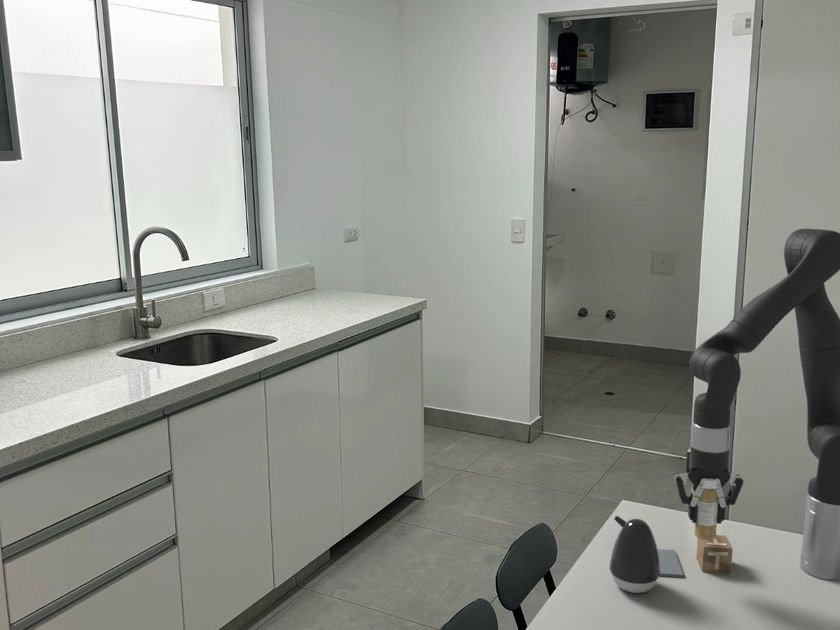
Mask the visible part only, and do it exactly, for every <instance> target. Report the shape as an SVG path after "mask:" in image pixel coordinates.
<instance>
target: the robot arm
mask: <svg viewBox="0 0 840 630" xmlns="http://www.w3.org/2000/svg"><path fill="white" fill-rule="evenodd" d="M783 249H784V250H783V259H784V263H785V264H784V265H785V269H786V272H787V276H785V277H784V278H783V279H781V280H780V281H779V282H777V283H776V284H774V285H773V286H771V287H770V288H768V289H767V290H765V291H764V292H762V293H760V294H758V295H757V296H755V297H754V298H752V299H751V300H750V301H749V302H747V304H746V305H744V306H743V307H742V308H741V309H740V311H739V312H738V313H737V314H736V315H735V316H734V317H733V318H732V320H731V321H730V322H729V323H728V324H727V325H726V327H724V328H722V329H721V330H719V331H718V332H717V333H715V334H714V335H712V336H710V337H709V338H708V339H706V340H705V341H704V342H702V343H701V344H700V345H699V346H698V347H697V348H695V350H694V351H693V353H692V355H691V356H690V358H689V362H688V366H689V371H690V373H691V375H693V377H695V378H696V379H698V380H701V381H702V382H704V383H707V390H706V392H703V393H700V394H698V395H696V397H695V399H694V403H693V420H692V427H691V433H690V453H689V454H690V455H689V456H690V457H689V468H688V469H687V470H686V472H684V473H678V472H676V473H673V478H674V482H675V486H676V488H677V489H676V490H677V492H678V495H679V499H680V500H681V503H682V504H683V505H688V506H687V507H688V512H687V515H688V518H689V521H691V523H693V524H695V523H696V522H697V506H696V504H697V502H698V499H699V498H700V497H701V494H702V492H703V489H704V488H702V486H704V483H705V481H706V480H707V478H709V479H714V481H716V486H717V487H718V488H716V492H717V496H718V514H717V524H718V525H719V524H720V525H721V524H722V522H724V521H725V519H726V518H725V517H726V507H728V506H729V505H730V506H734V505H735V504H736V502H737V499H738V497H739V495H740V492H741V490H742V487H743V484H744V480H743V478H742V477H741V475H740V474H735V475H734V474H731V473H730V471H729V467H730V466H729V464H730V463H729V462H730V448H731V429H730V427H731V425H730V424H731V406H732V403H733V401H734V398H735V395H736V393H737V390H738V387H739V384H740V381H741V374H742V373H741V371H742V370H741V365H740V362H739V360H738V359H737V358H736V357H735V356H736V355H738V354H749V353H751V352H753V351H754V350H755V349H756V348H757V347H758V346H759V345H760V344H761V343H762V342H763V341H764V340H765V338H766V337H767V336H768V335H769V334H770V333H771V332H772V330H774V329H775V327H776V326H777V325H778V324H779V323H780V322H781V321H782V320H783V319H784V318H785V317H786V316H787V315H788V314H789V313H790V312H791V311H793V310H794V315H795V320H796V327H797V336H798V337H797V339H798V349H799V357H800V364H801V370H802V376H803V378H802V379H803V384H804V391H805V396H806V405H807V410H806V411H807V414H806V415H807V417H806V418H807V421H806V422H807V423H806V426H807V427H806V428H807V429H806V430H807V431H806V434H807V438H806V439H807V445H808V448H809V450H810V452H811V453H812V454H813V456H814V457H815V458H816V459H817V460H818V464H817V471H816V476H814V477H813V478H811V479H810V480H809V481H808V485H807V486H808V487H807V494H806V495H807V496H806V503H805V504H806V505H805V512H804V513H805V514H804V523H803V524H804V525H803V533H802V534H803V535H802V541H801V543H802V544H801V550H800V551H801V552H800V565H799V566H800V568H801V569H802V570H803V571H804V572H805V573H807V574H808V575H811V576H813V577H815V578H818V579H822V580H823V579H824V580H830V581H831V580H832V581H835V580H837V581H838V580H840V316H839V314H838V313H837V311H836V310H835V307H834V306H833V304H832V303H831V301H830V299H829V296H828V294H827V290H826V286H825V283H826V282H827V281H829V280H830V279H831V278H832V277H833V276H835V275H836V274H837V273H838V272H839V271H840V232H838V231H835V230H830V229H829V230H828V229H819V228H799V229H796V230H794V231H793V232H791V233H790V235H789V236H788V237H787V239H786V241H785V245H784V248H783ZM688 479H689V481H690V482H691V484H692V486H691V489H690V493H689V495H687V494H686V489H685V485H686V484H687V480H688ZM728 481H729V484H730V486H729V488H728V492H727V495H726V496H725V495H724V491H723V487H724V486H725V485H726V484H727V482H728Z"/></svg>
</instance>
